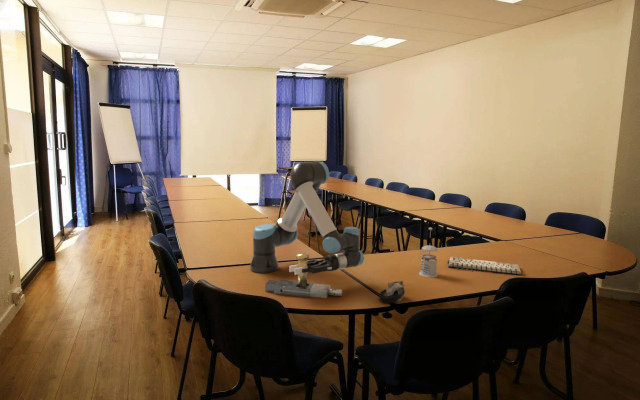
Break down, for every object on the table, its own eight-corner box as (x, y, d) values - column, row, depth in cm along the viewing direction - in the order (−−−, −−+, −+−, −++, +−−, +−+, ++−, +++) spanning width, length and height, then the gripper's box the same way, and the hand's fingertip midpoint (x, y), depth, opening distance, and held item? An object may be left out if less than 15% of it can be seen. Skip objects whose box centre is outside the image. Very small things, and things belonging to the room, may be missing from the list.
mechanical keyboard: (518, 267, 231) (518, 261, 230) (522, 278, 213) (523, 271, 212) (447, 260, 243) (448, 255, 243) (446, 270, 225) (446, 264, 225)
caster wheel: (381, 309, 176) (379, 297, 185) (408, 305, 175) (404, 293, 184) (379, 295, 174) (377, 284, 183) (406, 291, 173) (402, 279, 182)
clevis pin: (294, 285, 185) (294, 255, 183) (298, 282, 190) (298, 252, 188) (306, 287, 183) (307, 256, 181) (310, 283, 189) (310, 253, 187)
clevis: (263, 292, 187) (263, 285, 186) (270, 286, 196) (270, 278, 195) (339, 300, 179) (339, 292, 178) (343, 293, 187) (343, 285, 187)
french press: (427, 278, 209) (429, 229, 205) (412, 271, 219) (414, 225, 216) (442, 275, 213) (444, 228, 210) (426, 269, 224) (428, 224, 220)
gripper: (345, 274, 189) (302, 284, 176) (324, 265, 203) (283, 273, 190) (346, 258, 188) (302, 266, 175) (324, 250, 202) (282, 257, 189)
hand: (292, 270), depth 183 cm, fingers closed on clevis pin, 4 cm apart
